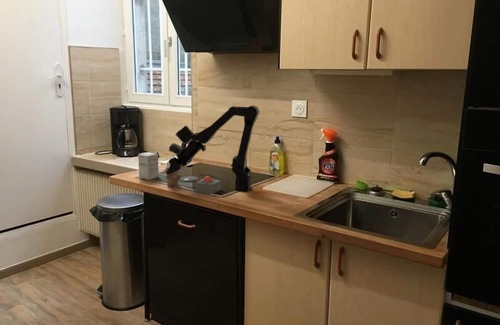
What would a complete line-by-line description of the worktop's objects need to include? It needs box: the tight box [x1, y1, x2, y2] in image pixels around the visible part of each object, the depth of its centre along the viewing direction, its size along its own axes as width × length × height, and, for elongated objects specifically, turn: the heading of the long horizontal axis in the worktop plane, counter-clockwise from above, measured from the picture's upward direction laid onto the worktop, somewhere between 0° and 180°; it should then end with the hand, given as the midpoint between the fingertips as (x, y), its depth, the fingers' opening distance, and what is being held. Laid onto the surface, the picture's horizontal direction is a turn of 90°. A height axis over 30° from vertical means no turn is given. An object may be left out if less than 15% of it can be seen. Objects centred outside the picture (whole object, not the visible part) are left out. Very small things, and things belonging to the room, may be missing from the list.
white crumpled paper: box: [163, 161, 180, 178], centre depth 217 cm, size 9×8×10 cm
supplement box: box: [137, 151, 160, 181], centre depth 214 cm, size 7×7×13 cm
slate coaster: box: [178, 175, 200, 183], centre depth 212 cm, size 10×10×1 cm
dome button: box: [203, 175, 213, 183], centre depth 191 cm, size 4×4×6 cm
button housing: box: [193, 178, 222, 195], centre depth 191 cm, size 9×9×4 cm
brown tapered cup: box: [166, 167, 179, 188], centre depth 199 cm, size 4×4×9 cm
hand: (169, 172), depth 199 cm, fingers open, 7 cm apart
